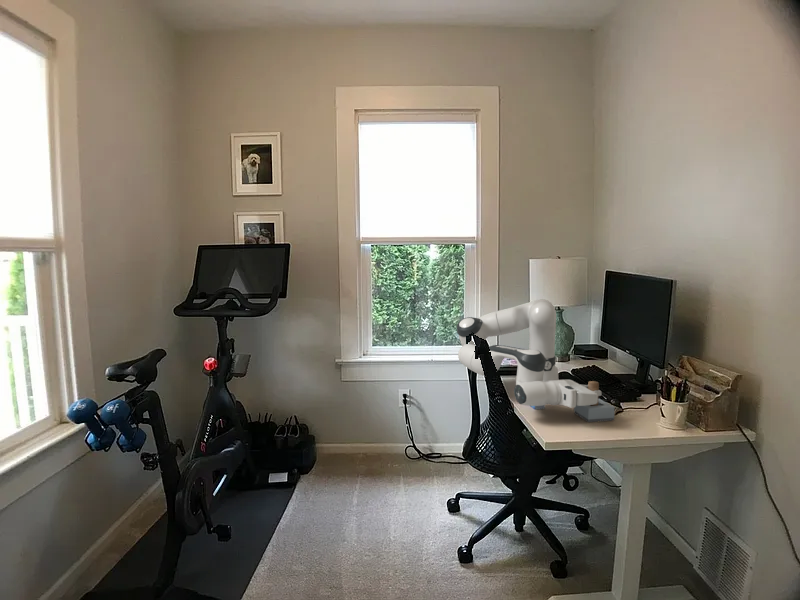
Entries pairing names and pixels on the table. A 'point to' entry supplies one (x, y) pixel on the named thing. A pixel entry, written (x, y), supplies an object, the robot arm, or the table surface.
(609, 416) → the socket block
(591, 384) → the dowel
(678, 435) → the table surface
